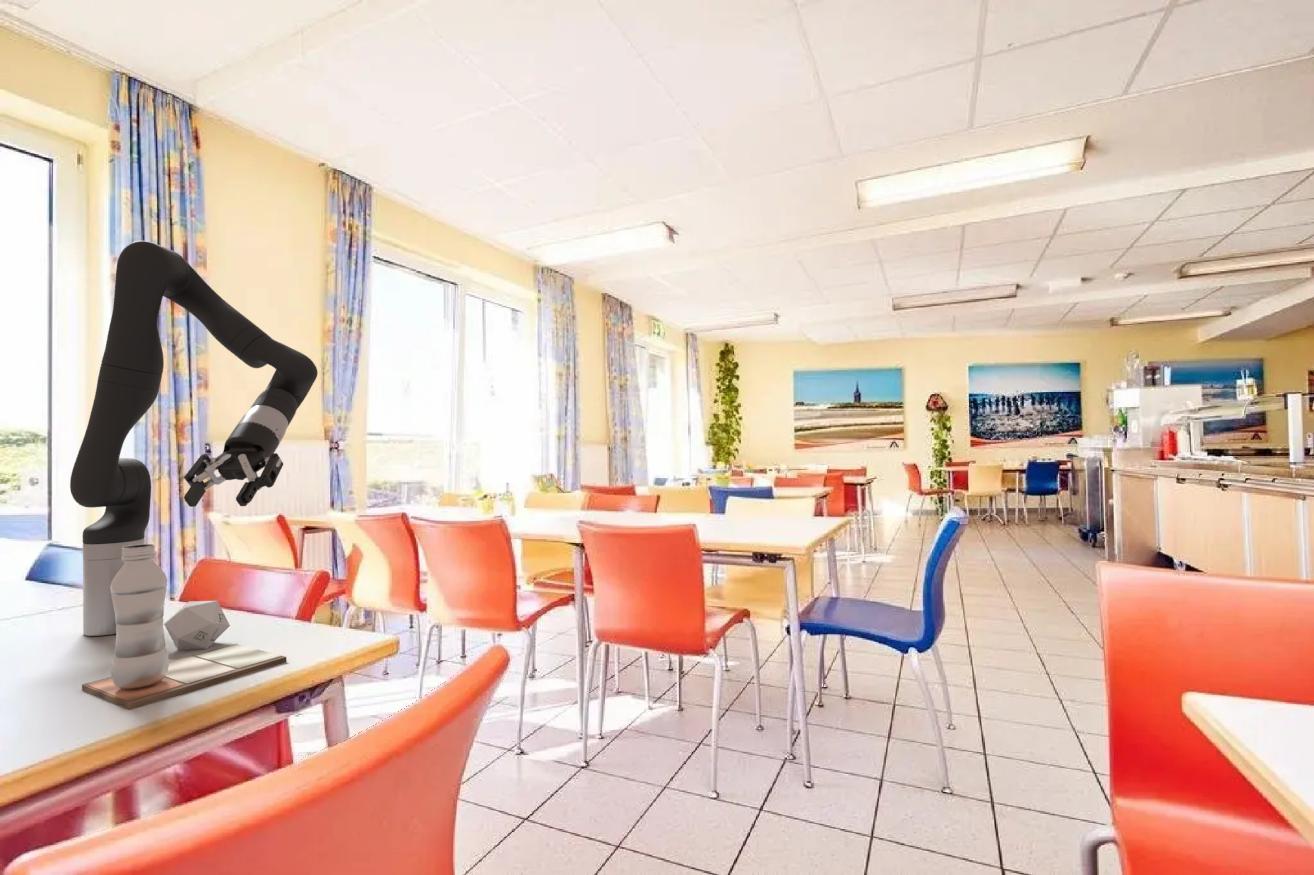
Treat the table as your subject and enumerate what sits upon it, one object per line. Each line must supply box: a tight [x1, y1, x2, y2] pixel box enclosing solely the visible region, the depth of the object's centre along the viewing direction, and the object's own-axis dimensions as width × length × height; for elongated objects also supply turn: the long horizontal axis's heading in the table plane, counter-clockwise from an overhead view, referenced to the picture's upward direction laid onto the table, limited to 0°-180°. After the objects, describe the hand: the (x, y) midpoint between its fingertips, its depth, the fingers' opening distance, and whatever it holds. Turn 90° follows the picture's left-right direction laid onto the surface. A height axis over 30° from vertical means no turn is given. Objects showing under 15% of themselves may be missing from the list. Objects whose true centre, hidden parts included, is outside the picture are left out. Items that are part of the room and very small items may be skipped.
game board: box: [81, 643, 287, 710], centre depth 98 cm, size 15×21×1 cm
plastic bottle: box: [110, 543, 170, 689], centre depth 91 cm, size 6×7×20 cm
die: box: [163, 600, 231, 651], centre depth 113 cm, size 8×9×10 cm
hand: (214, 503), depth 106 cm, fingers open, 8 cm apart
